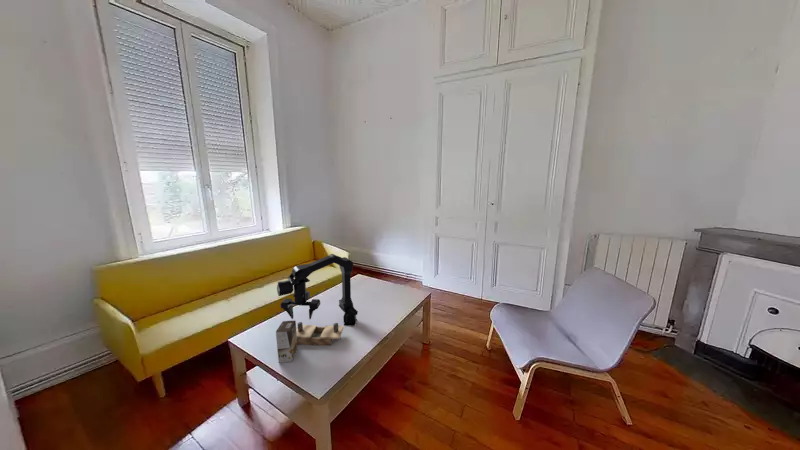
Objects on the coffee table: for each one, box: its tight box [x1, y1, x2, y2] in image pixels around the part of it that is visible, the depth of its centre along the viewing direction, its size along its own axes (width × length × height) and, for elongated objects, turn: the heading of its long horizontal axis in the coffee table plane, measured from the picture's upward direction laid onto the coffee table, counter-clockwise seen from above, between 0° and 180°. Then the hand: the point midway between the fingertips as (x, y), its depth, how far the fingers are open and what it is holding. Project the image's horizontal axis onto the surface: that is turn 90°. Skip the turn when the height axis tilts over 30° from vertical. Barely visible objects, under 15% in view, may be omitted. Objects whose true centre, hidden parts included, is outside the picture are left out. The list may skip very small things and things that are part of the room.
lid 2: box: [320, 322, 345, 340], centre depth 139 cm, size 10×10×5 cm
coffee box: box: [275, 320, 299, 363], centre depth 126 cm, size 9×6×16 cm
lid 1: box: [296, 321, 318, 338], centre depth 139 cm, size 10×10×5 cm
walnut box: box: [297, 326, 334, 347], centre depth 140 cm, size 20×10×4 cm, turn 89°
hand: (301, 318), depth 138 cm, fingers open, 9 cm apart
